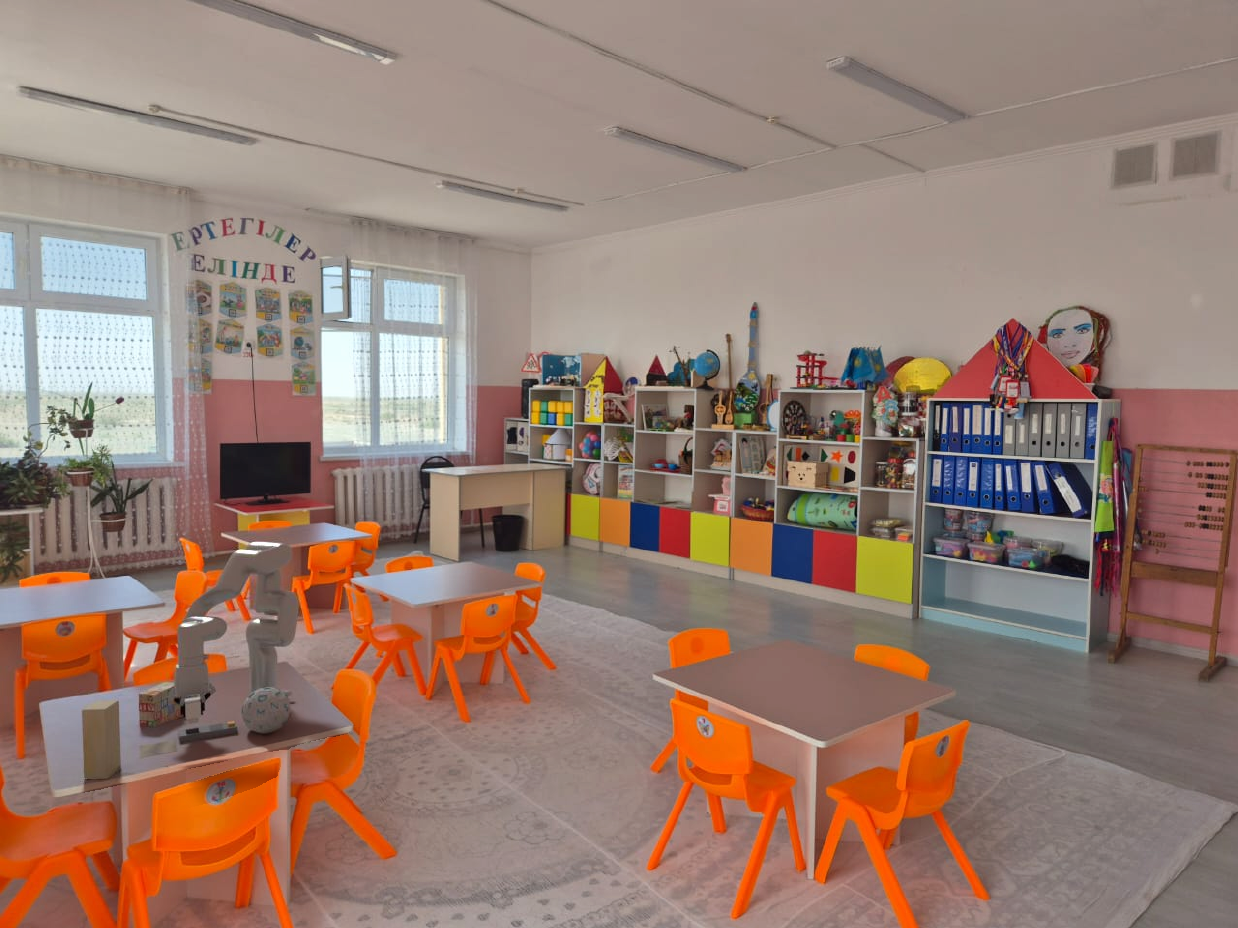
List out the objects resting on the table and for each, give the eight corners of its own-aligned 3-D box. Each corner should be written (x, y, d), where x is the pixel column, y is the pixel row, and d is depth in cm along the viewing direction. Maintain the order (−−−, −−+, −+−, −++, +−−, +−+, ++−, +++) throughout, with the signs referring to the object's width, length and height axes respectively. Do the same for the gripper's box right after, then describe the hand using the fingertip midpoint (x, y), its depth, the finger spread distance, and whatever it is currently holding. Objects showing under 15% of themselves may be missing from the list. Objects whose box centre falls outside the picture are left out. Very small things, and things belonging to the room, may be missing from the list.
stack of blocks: (184, 706, 301) (183, 673, 300) (199, 707, 300) (198, 674, 299) (139, 728, 280) (138, 692, 280) (155, 730, 279) (154, 694, 278)
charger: (199, 717, 274) (199, 696, 274) (201, 722, 270) (200, 701, 269) (185, 719, 272) (184, 698, 272) (186, 725, 267) (185, 704, 267)
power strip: (235, 729, 280) (234, 718, 280) (237, 735, 275) (236, 724, 275) (178, 739, 271) (178, 727, 271) (179, 745, 266) (179, 734, 266)
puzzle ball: (292, 735, 275) (291, 692, 274) (242, 743, 269) (242, 698, 268) (288, 720, 289) (288, 678, 288) (241, 727, 282) (240, 684, 281)
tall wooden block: (95, 768, 249) (93, 700, 248) (121, 767, 250) (119, 699, 248) (81, 780, 241) (78, 709, 240) (107, 779, 242) (105, 709, 240)
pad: (175, 742, 268) (175, 739, 268) (176, 754, 260) (176, 750, 260) (139, 748, 263) (139, 745, 263) (140, 760, 255) (140, 757, 255)
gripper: (218, 653, 277) (220, 706, 278) (161, 661, 268) (163, 715, 270) (220, 659, 270) (222, 713, 272) (162, 667, 262) (164, 723, 263)
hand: (192, 714), depth 271 cm, fingers closed on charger, 4 cm apart
